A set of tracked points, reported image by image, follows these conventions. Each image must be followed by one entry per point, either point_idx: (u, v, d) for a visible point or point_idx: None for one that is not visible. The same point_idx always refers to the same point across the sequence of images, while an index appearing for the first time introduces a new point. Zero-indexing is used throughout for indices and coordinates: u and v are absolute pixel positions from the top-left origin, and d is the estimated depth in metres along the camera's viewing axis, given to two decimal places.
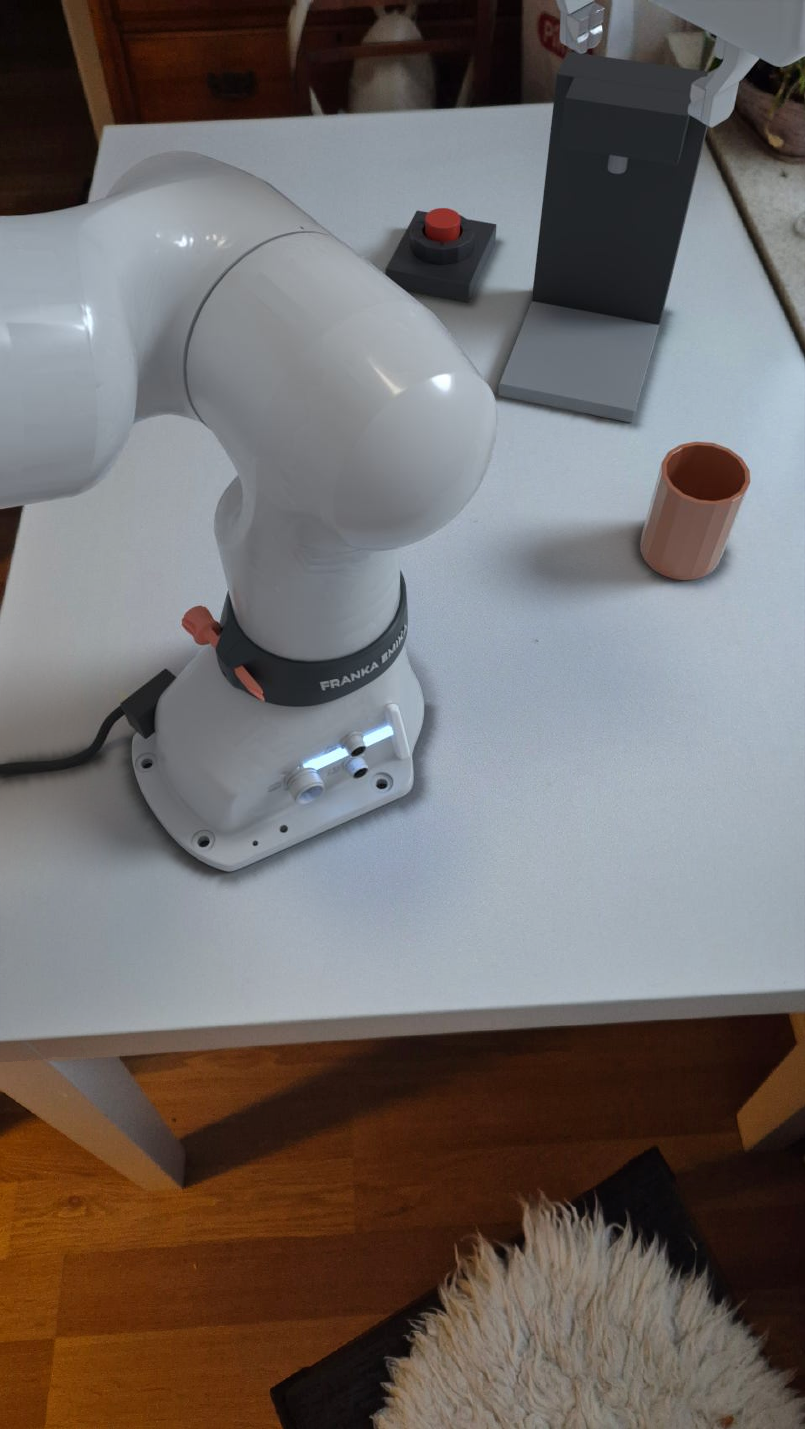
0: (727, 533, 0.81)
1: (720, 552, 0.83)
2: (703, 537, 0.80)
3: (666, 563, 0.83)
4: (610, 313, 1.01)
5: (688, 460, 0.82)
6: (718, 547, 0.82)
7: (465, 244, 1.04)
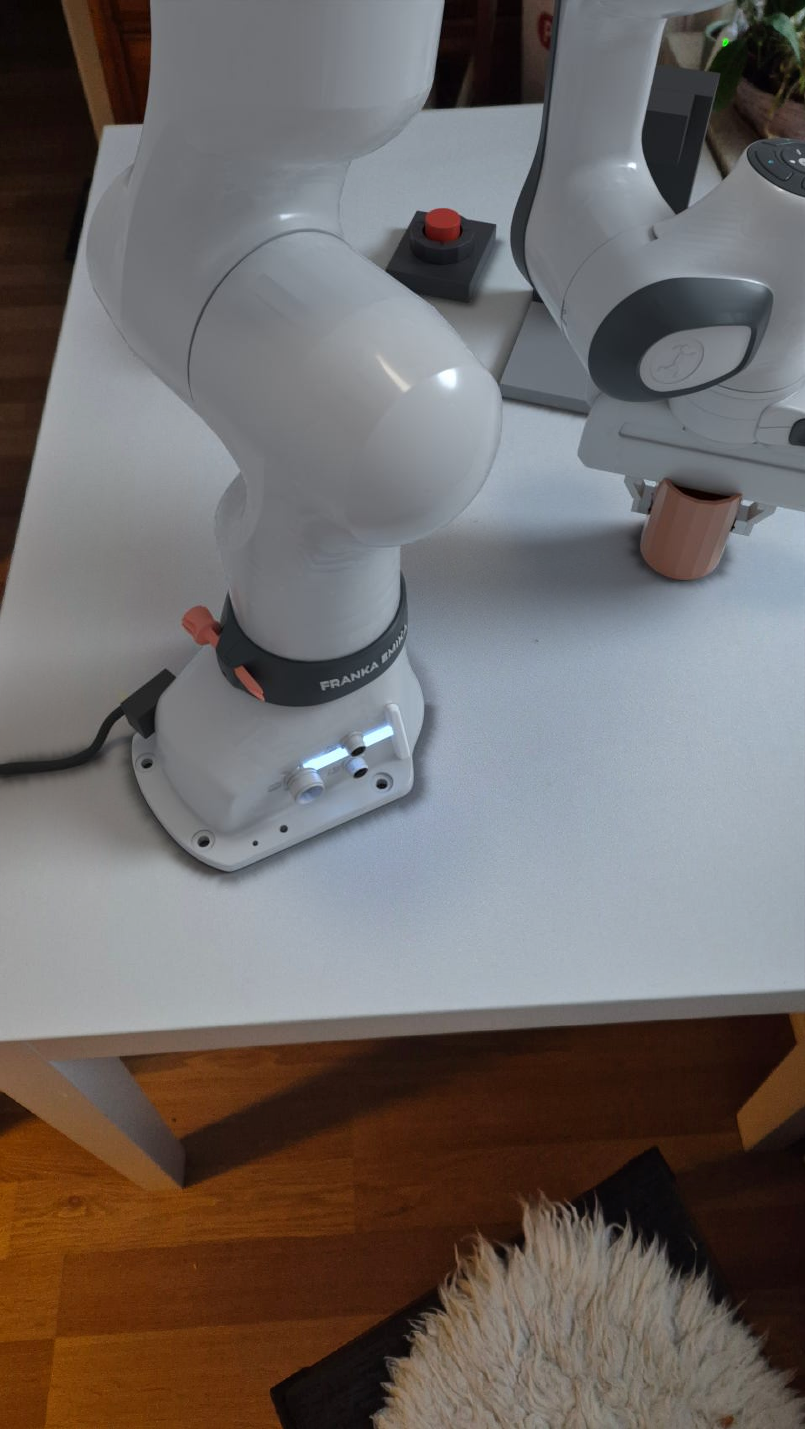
0: (727, 533, 0.81)
1: (720, 552, 0.83)
2: (703, 537, 0.80)
3: (666, 563, 0.84)
4: None
5: None
6: (718, 547, 0.82)
7: (465, 244, 1.04)
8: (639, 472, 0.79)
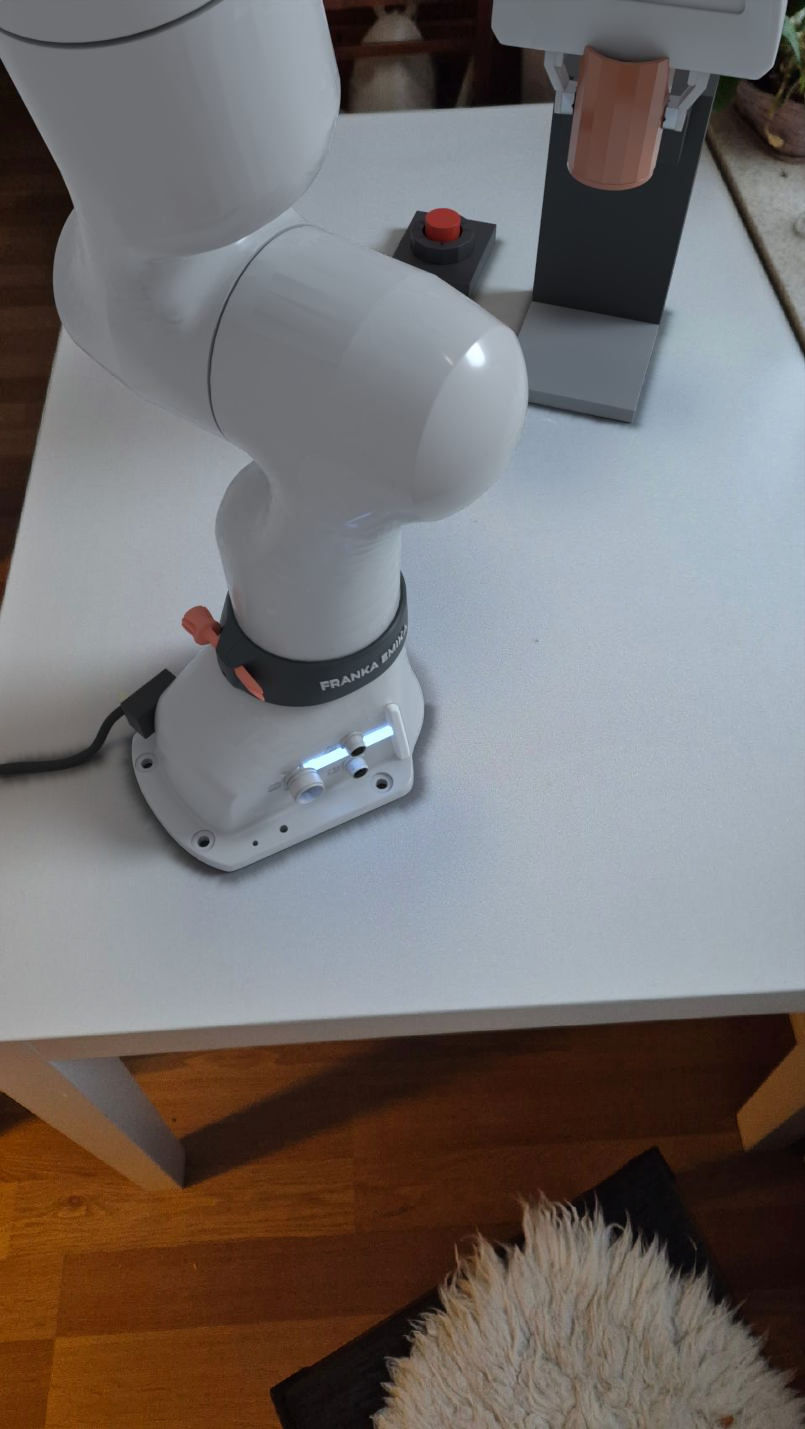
0: (657, 121, 0.74)
1: (651, 152, 0.76)
2: (629, 119, 0.73)
3: (592, 167, 0.77)
4: (610, 313, 1.01)
5: None
6: (647, 141, 0.75)
7: (465, 244, 1.04)
8: (558, 40, 0.72)
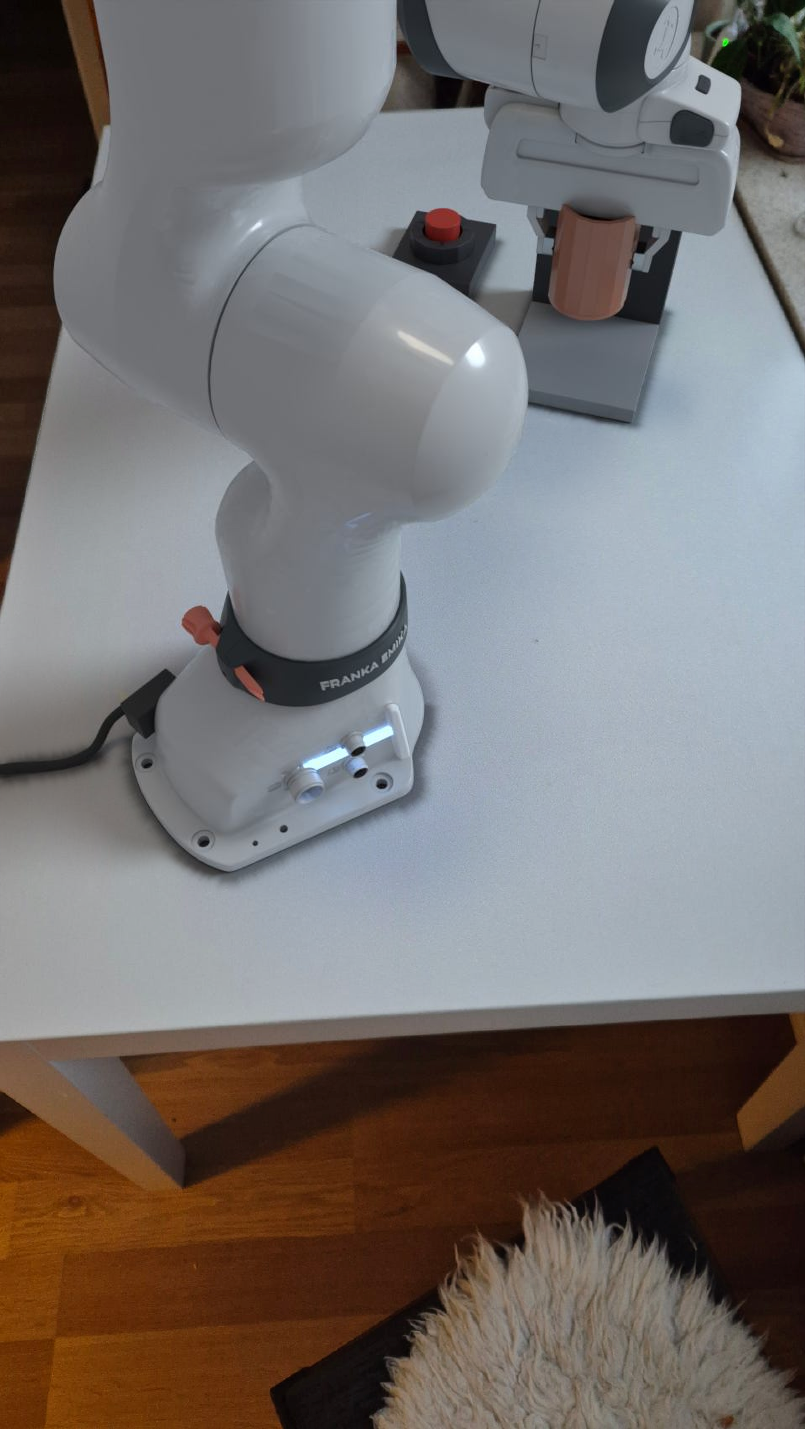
0: (626, 265, 0.84)
1: (621, 289, 0.86)
2: (601, 265, 0.83)
3: (570, 301, 0.87)
4: None
5: None
6: (618, 281, 0.85)
7: (465, 244, 1.04)
8: (538, 198, 0.82)
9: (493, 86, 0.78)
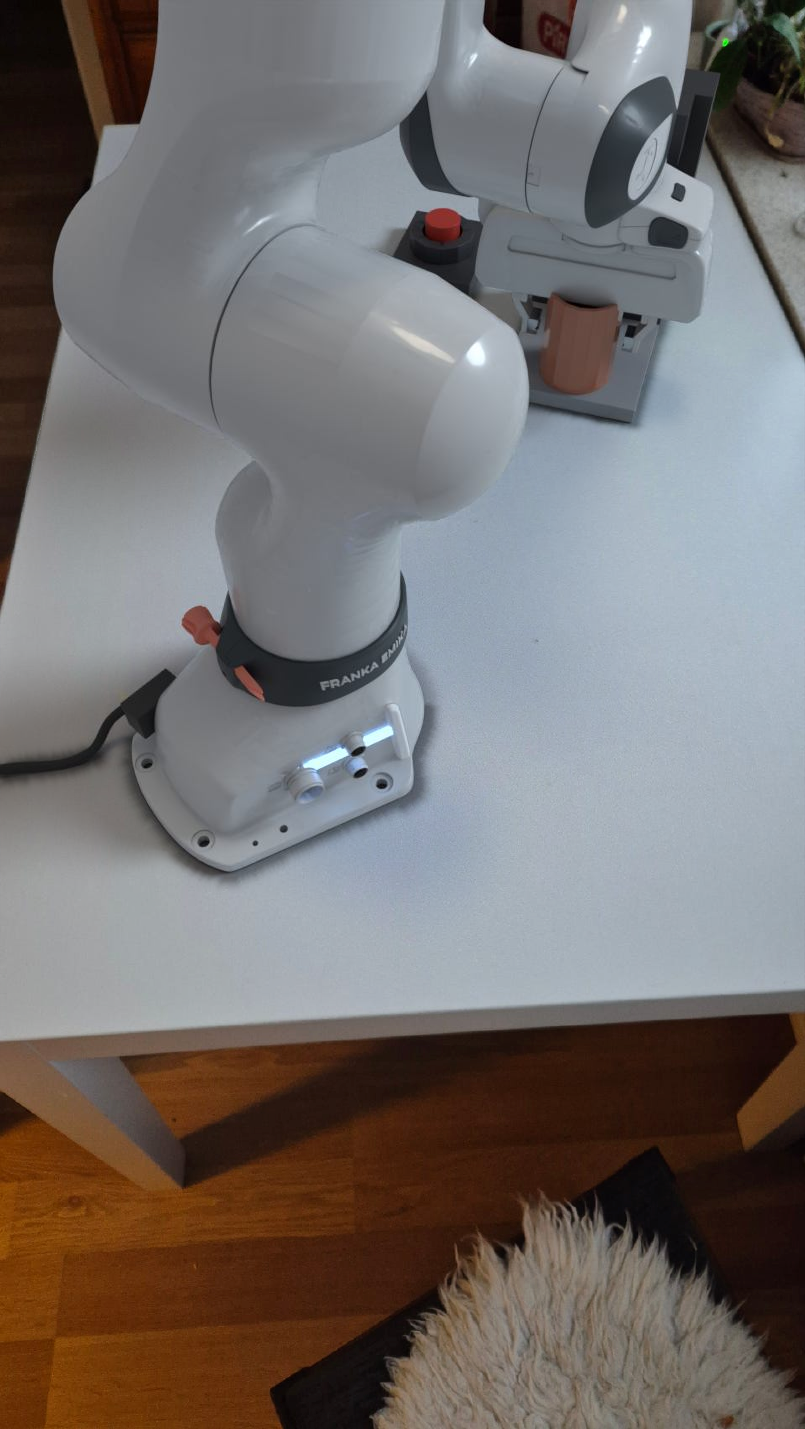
0: (610, 346, 0.91)
1: (606, 367, 0.93)
2: (587, 347, 0.90)
3: (559, 377, 0.94)
4: None
5: None
6: (603, 360, 0.92)
7: (465, 244, 1.04)
8: (528, 287, 0.89)
9: None
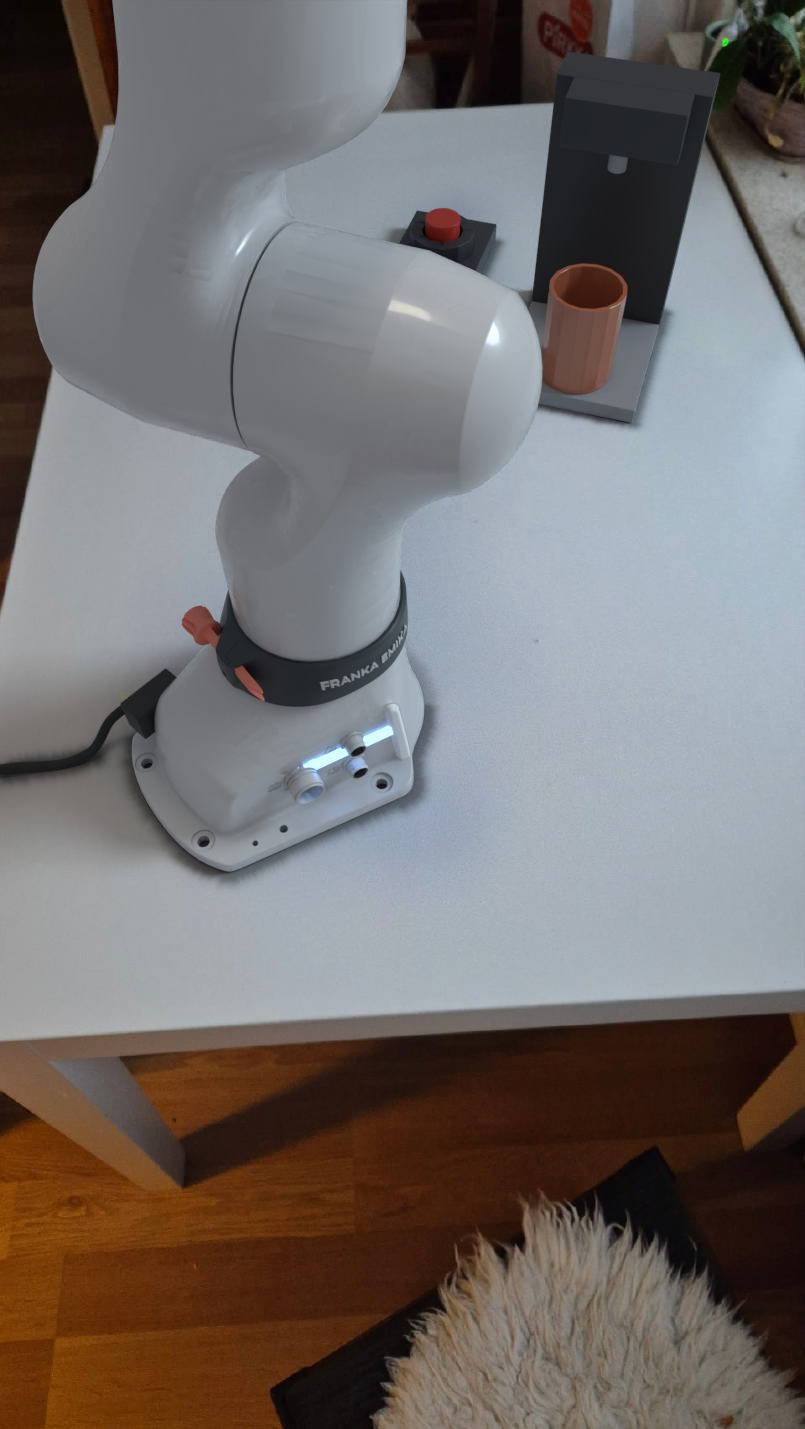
0: (610, 346, 0.91)
1: (606, 367, 0.93)
2: (587, 347, 0.90)
3: (559, 377, 0.94)
4: None
5: (577, 282, 0.92)
6: (603, 360, 0.92)
7: (465, 244, 1.04)
8: None
9: None
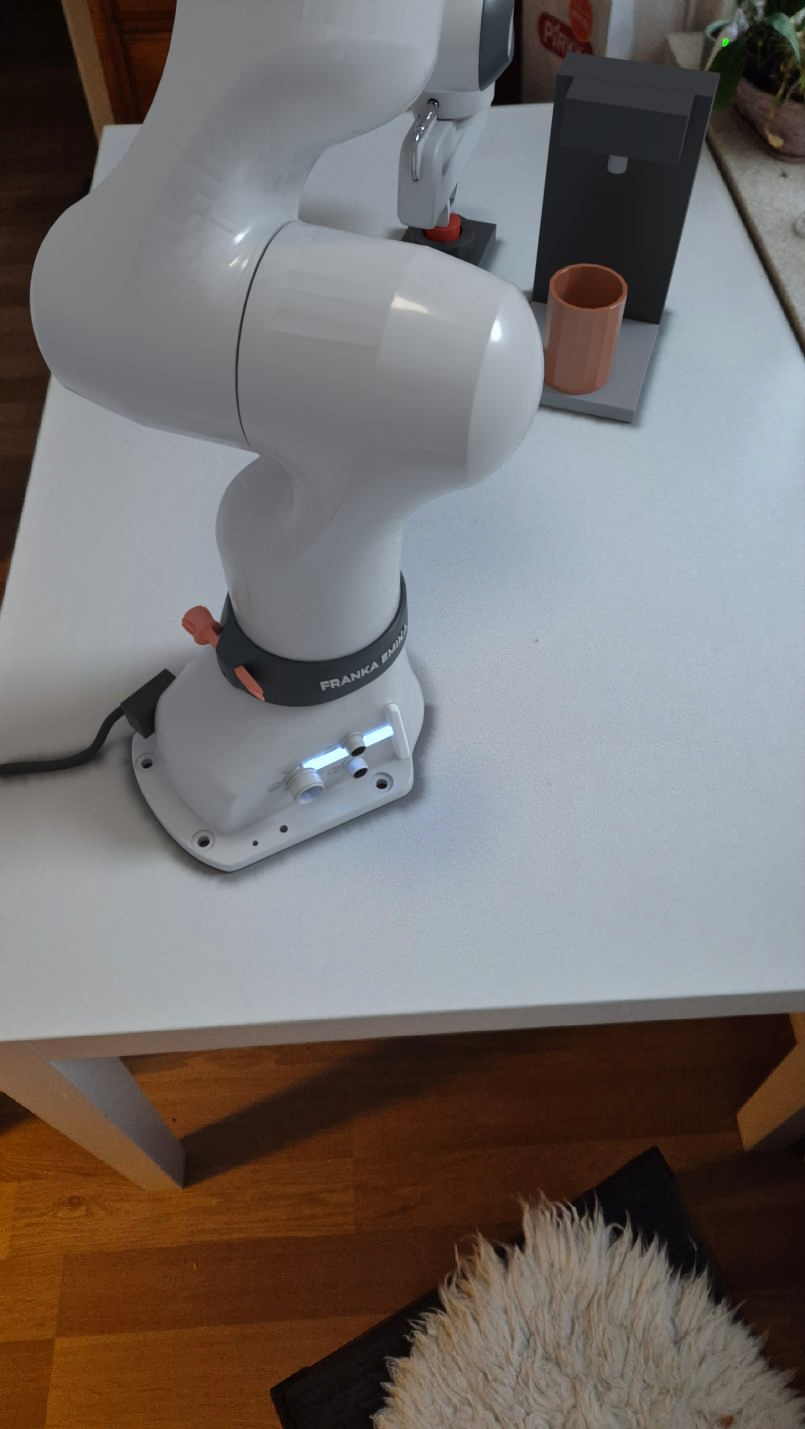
0: (610, 346, 0.91)
1: (606, 367, 0.93)
2: (587, 347, 0.90)
3: (559, 377, 0.94)
4: None
5: (577, 282, 0.92)
6: (603, 360, 0.92)
7: (465, 244, 1.04)
8: (448, 196, 0.96)
9: (417, 142, 0.88)
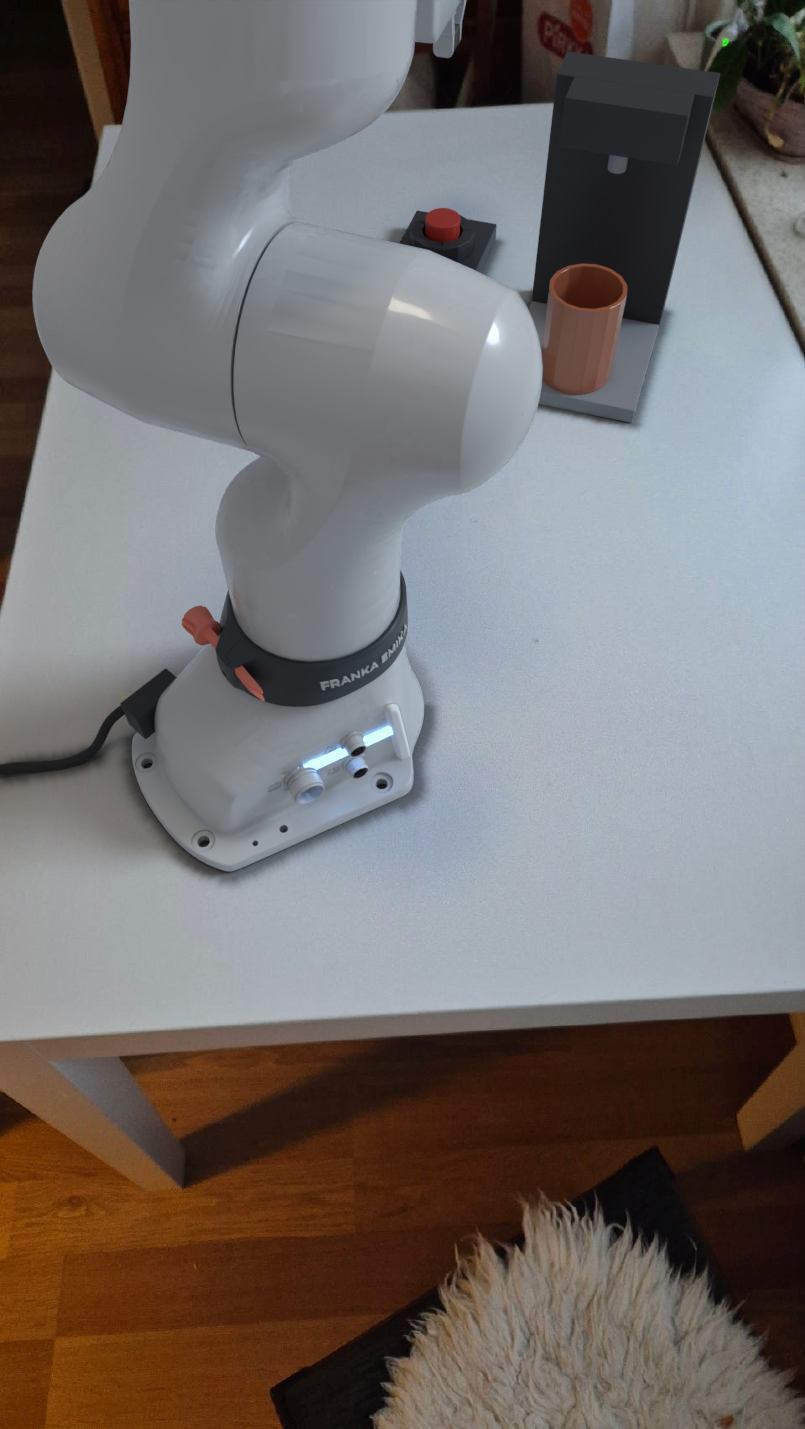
0: (610, 346, 0.91)
1: (606, 367, 0.93)
2: (587, 347, 0.90)
3: (559, 377, 0.94)
4: None
5: (577, 282, 0.92)
6: (603, 360, 0.92)
7: (465, 244, 1.04)
8: (453, 7, 0.83)
9: None
